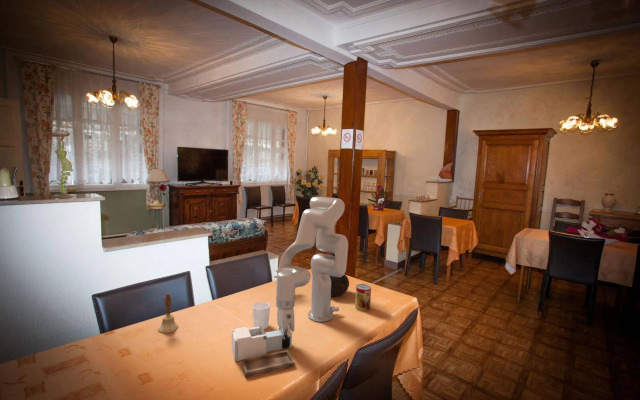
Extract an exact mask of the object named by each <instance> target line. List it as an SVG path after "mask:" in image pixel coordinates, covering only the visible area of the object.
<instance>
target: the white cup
mask: <svg viewBox="0 0 640 400" xmlns="http://www.w3.org/2000/svg"><path fill="white" fill-rule="evenodd" d="M270 309H271V304H270V303H269V302H266V301H260V302H255V303H253V304H252V321H253V327H259V326H262V327H263V329H264V330H267V329H268V328H269V321H270V312H271V311H270Z"/></svg>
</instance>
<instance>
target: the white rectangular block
mask: <svg viewBox="0 0 640 400" xmlns="http://www.w3.org/2000/svg"><path fill="white" fill-rule="evenodd" d="M286 331H287V330H286ZM265 333H266V335H267V342H266V353H269V352H274V351H279V350H284V349H283V348H282V339H283V332H282V331H281V330H279V329H278V330H272V331H267V332H266V331H265ZM258 335H261V333H260V334H256V336H258ZM285 335H287V333H285ZM292 336H293V332H291V337H290V347H289V348H292V345H293V344H292V341H293V340H292V338H293V337H292Z"/></svg>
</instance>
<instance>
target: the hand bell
mask: <svg viewBox="0 0 640 400" xmlns="http://www.w3.org/2000/svg"><path fill="white" fill-rule="evenodd" d="M164 305H165V311H166V312H165V314H166V315H164V316H162V320H161V324H160V325H159V326H158V328H157V331H158V332H159V333H160V334H169V333H172V332H176V330H178V329H179V324H178V323H176V321H175V316H174V315H173V314H171V305H172V297H171V294H170V293H166V295H165V298H164Z"/></svg>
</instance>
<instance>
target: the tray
mask: <svg viewBox="0 0 640 400" xmlns="http://www.w3.org/2000/svg"><path fill="white" fill-rule="evenodd" d="M289 351H290V350H289V349H285V350H282V351H276V352H271V353H266V355H261V356H256V357H252V358H247V359H242V360H240V361H241V362H240V365H241V368H242V371H243V375H244V379H246V378H250V377H254V376H255V377H256V376H260V375H263V374H268V373H273V372H277V371H280V370H281V371H282V370H284V369H291V368H293V367H295V360H294V358H293V357H292V354H291V353H290V352H289Z"/></svg>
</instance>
